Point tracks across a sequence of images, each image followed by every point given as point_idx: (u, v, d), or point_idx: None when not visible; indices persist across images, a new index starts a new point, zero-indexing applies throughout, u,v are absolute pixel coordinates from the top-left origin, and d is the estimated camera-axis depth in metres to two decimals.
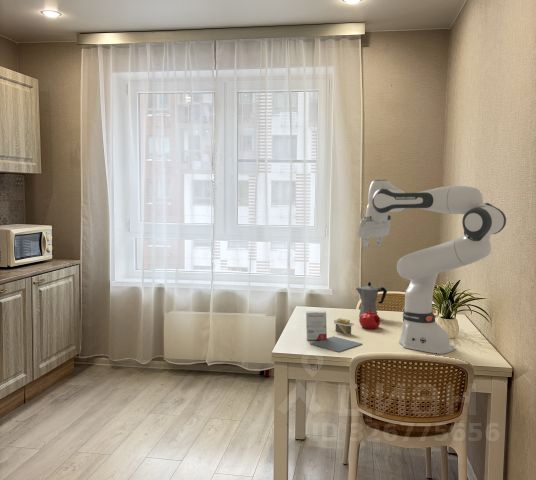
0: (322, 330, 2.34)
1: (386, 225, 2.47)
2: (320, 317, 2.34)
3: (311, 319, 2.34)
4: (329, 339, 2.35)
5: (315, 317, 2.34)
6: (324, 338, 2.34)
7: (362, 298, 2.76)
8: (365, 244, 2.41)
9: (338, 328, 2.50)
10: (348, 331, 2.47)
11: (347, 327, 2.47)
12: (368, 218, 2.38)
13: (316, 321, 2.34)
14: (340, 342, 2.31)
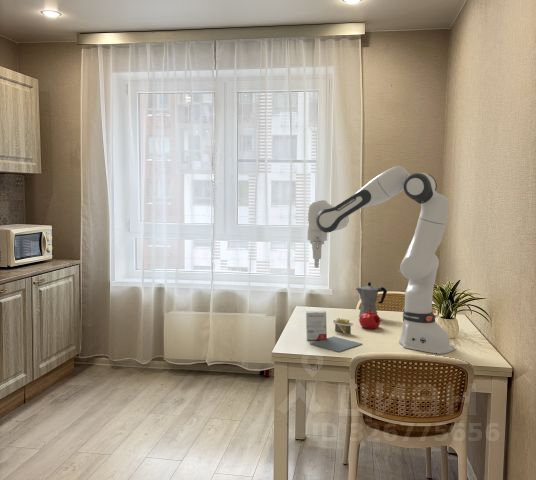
0: (322, 330, 2.34)
1: (320, 244, 2.56)
2: (320, 317, 2.34)
3: (311, 319, 2.34)
4: (329, 339, 2.35)
5: (315, 317, 2.34)
6: (324, 338, 2.34)
7: (362, 298, 2.76)
8: (316, 264, 2.46)
9: (337, 328, 2.50)
10: (347, 331, 2.47)
11: (346, 327, 2.47)
12: (318, 239, 2.42)
13: (316, 321, 2.34)
14: (340, 342, 2.31)
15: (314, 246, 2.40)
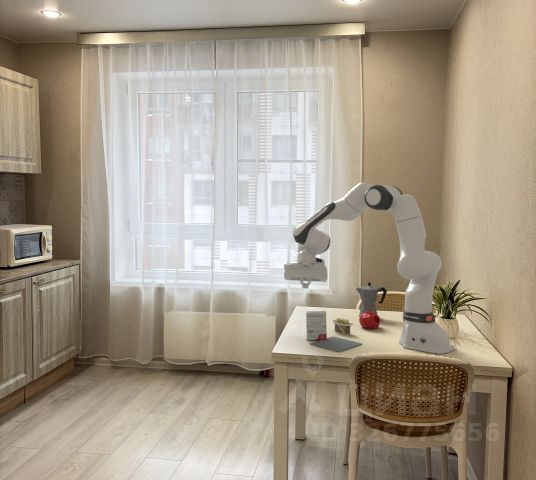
0: (322, 330, 2.34)
1: (321, 269, 2.56)
2: (320, 317, 2.34)
3: (311, 319, 2.34)
4: (329, 339, 2.35)
5: (315, 317, 2.34)
6: (324, 338, 2.34)
7: (362, 298, 2.76)
8: (302, 284, 2.53)
9: (337, 328, 2.50)
10: (347, 331, 2.47)
11: (346, 327, 2.48)
12: (292, 263, 2.60)
13: (316, 321, 2.34)
14: (340, 342, 2.31)
15: None
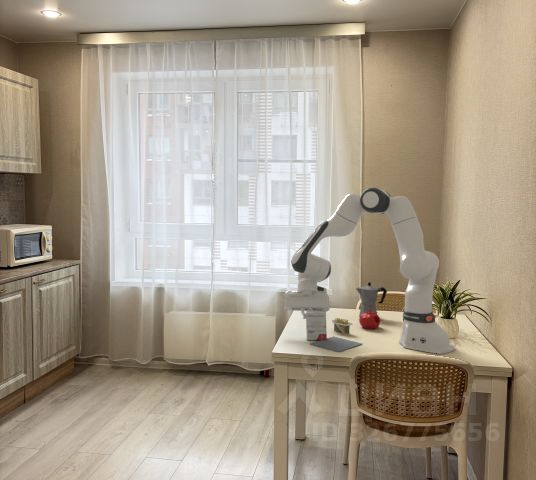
0: (322, 330, 2.34)
1: (323, 298, 2.44)
2: (320, 317, 2.34)
3: (311, 319, 2.34)
4: (329, 339, 2.35)
5: (315, 317, 2.34)
6: (324, 338, 2.34)
7: (362, 298, 2.76)
8: (303, 315, 2.41)
9: (336, 328, 2.51)
10: (346, 331, 2.48)
11: (345, 327, 2.48)
12: (293, 292, 2.48)
13: (316, 321, 2.34)
14: (340, 342, 2.31)
15: None
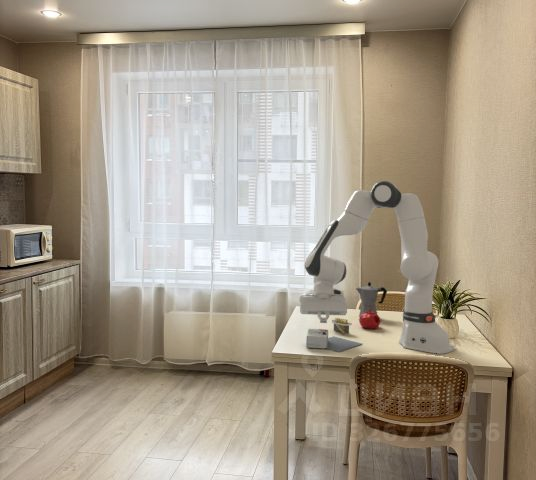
0: None
1: (340, 301, 2.37)
2: None
3: None
4: (329, 339, 2.35)
5: None
6: None
7: (362, 298, 2.76)
8: None
9: (336, 328, 2.51)
10: (346, 331, 2.48)
11: (345, 327, 2.48)
12: (308, 295, 2.42)
13: None
14: (340, 342, 2.31)
15: None
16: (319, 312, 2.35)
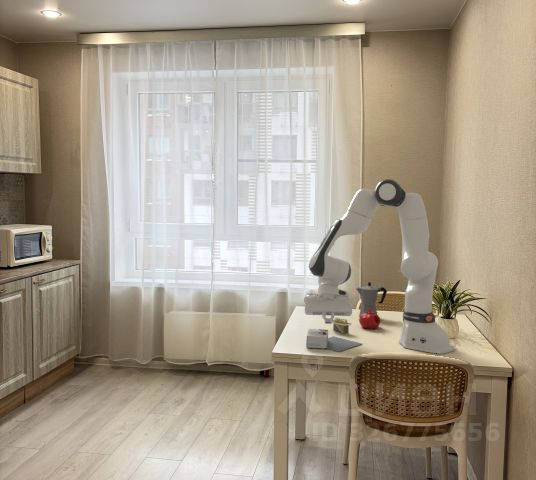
0: None
1: (345, 302, 2.35)
2: None
3: None
4: (329, 339, 2.35)
5: None
6: None
7: (362, 298, 2.76)
8: None
9: (336, 328, 2.51)
10: (345, 331, 2.48)
11: (345, 327, 2.48)
12: (313, 296, 2.40)
13: None
14: (340, 342, 2.31)
15: None
16: (324, 313, 2.33)
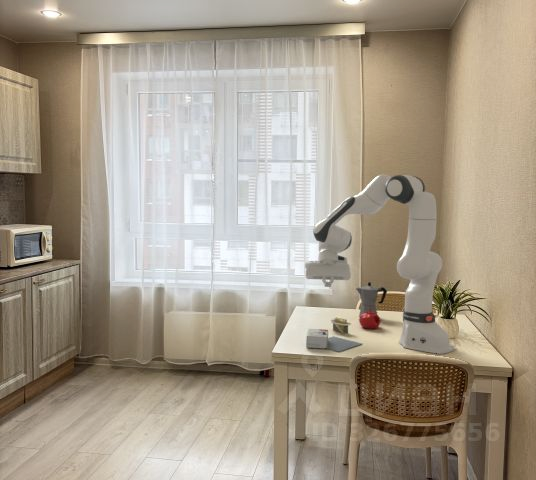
0: None
1: (343, 267, 2.49)
2: None
3: None
4: (329, 339, 2.35)
5: None
6: None
7: (362, 298, 2.76)
8: (324, 283, 2.46)
9: (335, 327, 2.51)
10: (345, 330, 2.48)
11: (344, 326, 2.48)
12: (314, 261, 2.54)
13: None
14: (340, 342, 2.31)
15: None
16: (324, 277, 2.47)
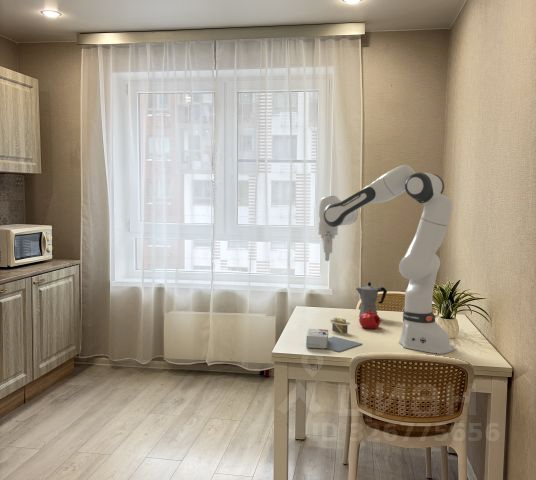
0: None
1: None
2: None
3: None
4: (329, 339, 2.35)
5: None
6: None
7: (362, 298, 2.76)
8: (327, 257, 2.55)
9: (335, 327, 2.51)
10: (344, 330, 2.48)
11: (343, 326, 2.48)
12: None
13: None
14: (340, 342, 2.31)
15: (325, 240, 2.47)
16: None
